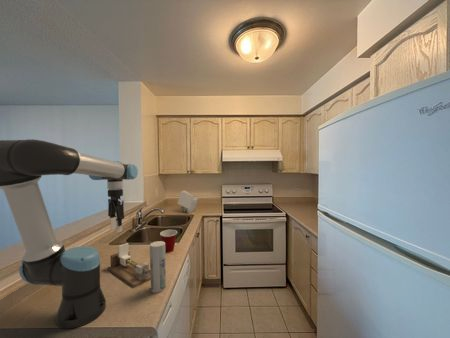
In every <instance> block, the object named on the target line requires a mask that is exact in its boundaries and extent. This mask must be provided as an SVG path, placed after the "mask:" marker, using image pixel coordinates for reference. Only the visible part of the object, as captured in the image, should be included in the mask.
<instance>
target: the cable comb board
mask: <svg viewBox="0 0 450 338" xmlns="http://www.w3.org/2000/svg"><path fill="white" fill-rule="evenodd" d="M128 255H129V256H130V253H129V254H128ZM126 262H127V263H128V264H129V265H126V266H123V265H122V264H120V258H119V257H118V253H114V254H112V255H110V266H108V267H107V271H109V272H110V273H112V274H113V275H114V276H116V277H117V278H119V279H120V280H121V281H123V282H124V283H126V284H127V285H129V286H131V287H132V288H136V287H138V286H140V285H142V284H145V283H146V282H149V281H151V271H150V263H147V262H146V261H144V262H140V263H138V262H135V261H133V260H132V259H131V261H130V260H128V259H127V260H126Z"/></svg>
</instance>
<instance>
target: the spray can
mask: <svg viewBox="0 0 450 338" xmlns="http://www.w3.org/2000/svg"><path fill="white" fill-rule="evenodd" d="M149 260H150V261H149V270H150V271H151V280H150V291H151V292H152V293H153V294H154V293H155V294H156V293H157V294H158V293H162V292H163V291H165V290H166V287H167V283H166V282H167V276H166V275H167V274H166V273H167V272H166V271H167V270H166V268H167V267H166V265H167V264H166V252H165V242H163V241H162V240H160V241H159V240H158V241H153V242H151V243H150V244H149Z"/></svg>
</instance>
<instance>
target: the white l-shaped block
mask: <svg viewBox="0 0 450 338" xmlns="http://www.w3.org/2000/svg"><path fill="white" fill-rule="evenodd" d="M129 249H130V247H129V243H128V242H126V243H123V244H120V245H118V246H117V250H118V252H117V254H118V257H119V258H120V264H122V265H123V266H126V265H129V264H128V263H127V262H126V260H127V259H128V260H130V261H131V260H132V256H131V255H130V251H129ZM128 254H129V255H128Z"/></svg>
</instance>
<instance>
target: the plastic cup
mask: <svg viewBox="0 0 450 338" xmlns="http://www.w3.org/2000/svg"><path fill="white" fill-rule="evenodd" d="M159 234H160V237H161V241H163V242H165V253H171V252H174V250H175V245H176V237H177V234H178V231H177V230H176V229H165V230H161V231H160V233H159Z"/></svg>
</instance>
